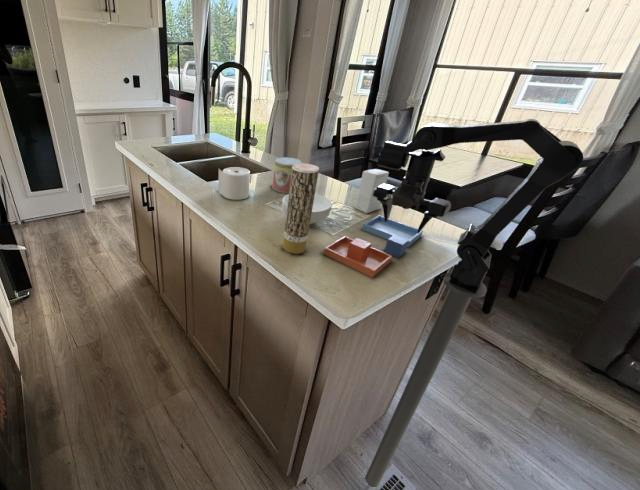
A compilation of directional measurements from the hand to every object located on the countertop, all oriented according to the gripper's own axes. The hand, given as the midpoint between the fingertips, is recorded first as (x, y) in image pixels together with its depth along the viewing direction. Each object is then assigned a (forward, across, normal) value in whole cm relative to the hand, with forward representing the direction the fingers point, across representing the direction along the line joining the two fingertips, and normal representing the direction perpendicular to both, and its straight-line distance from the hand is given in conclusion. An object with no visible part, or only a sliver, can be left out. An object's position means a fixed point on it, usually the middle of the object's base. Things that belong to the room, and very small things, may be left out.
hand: (401, 226), depth 93 cm
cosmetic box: (+9, -21, +25) cm, 34 cm away
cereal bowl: (+9, -31, -2) cm, 32 cm away
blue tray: (+9, -6, +12) cm, 16 cm away
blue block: (+9, 0, 0) cm, 9 cm away
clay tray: (+9, -6, -11) cm, 16 cm away
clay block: (+8, -6, -11) cm, 15 cm away
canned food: (+8, -55, +17) cm, 58 cm away
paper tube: (+9, -21, -21) cm, 31 cm away
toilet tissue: (+8, -63, -6) cm, 64 cm away
